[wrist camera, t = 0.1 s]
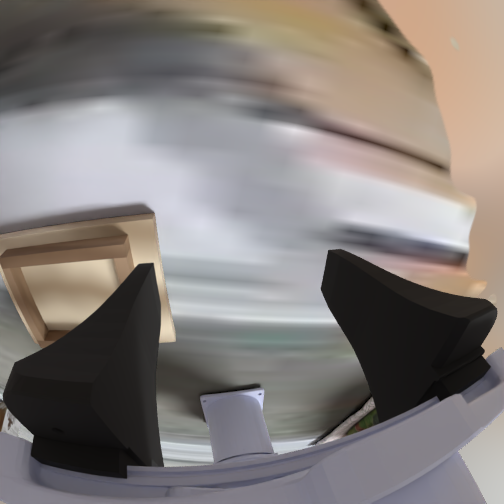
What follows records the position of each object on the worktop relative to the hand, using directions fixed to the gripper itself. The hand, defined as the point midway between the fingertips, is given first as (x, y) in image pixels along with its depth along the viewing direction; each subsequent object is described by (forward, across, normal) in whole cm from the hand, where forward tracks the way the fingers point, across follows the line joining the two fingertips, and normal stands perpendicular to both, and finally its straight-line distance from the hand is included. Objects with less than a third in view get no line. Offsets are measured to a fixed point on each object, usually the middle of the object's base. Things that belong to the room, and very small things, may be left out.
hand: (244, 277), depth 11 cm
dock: (+10, +13, +7) cm, 18 cm away
